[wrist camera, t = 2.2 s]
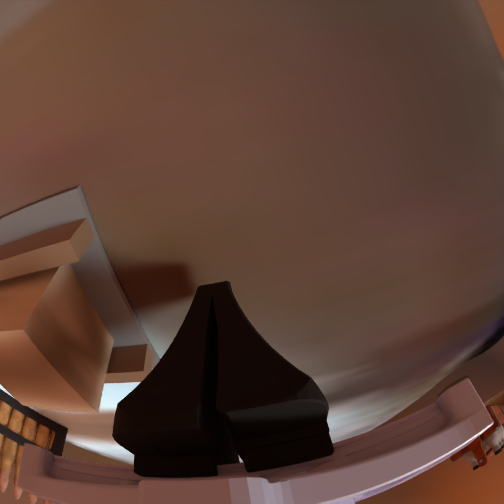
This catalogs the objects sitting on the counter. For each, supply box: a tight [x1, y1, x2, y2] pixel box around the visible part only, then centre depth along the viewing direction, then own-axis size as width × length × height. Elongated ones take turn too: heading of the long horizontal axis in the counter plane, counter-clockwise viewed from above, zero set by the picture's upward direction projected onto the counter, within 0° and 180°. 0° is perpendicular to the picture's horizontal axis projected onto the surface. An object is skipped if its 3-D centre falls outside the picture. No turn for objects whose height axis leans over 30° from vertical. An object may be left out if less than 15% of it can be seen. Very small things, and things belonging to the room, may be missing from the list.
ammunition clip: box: [0, 389, 68, 504], centre depth 15 cm, size 11×2×12 cm, turn 42°
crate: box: [0, 264, 114, 413], centre depth 11 cm, size 6×6×5 cm
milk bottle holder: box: [450, 404, 504, 470], centre depth 58 cm, size 21×35×19 cm, turn 56°
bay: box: [0, 186, 160, 383], centre depth 12 cm, size 12×18×2 cm, turn 98°
